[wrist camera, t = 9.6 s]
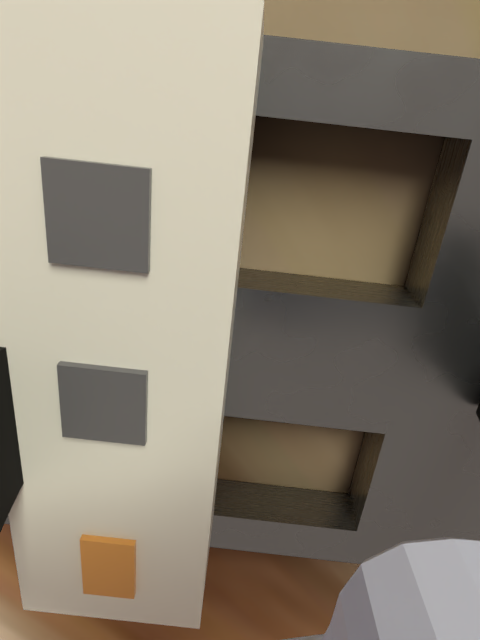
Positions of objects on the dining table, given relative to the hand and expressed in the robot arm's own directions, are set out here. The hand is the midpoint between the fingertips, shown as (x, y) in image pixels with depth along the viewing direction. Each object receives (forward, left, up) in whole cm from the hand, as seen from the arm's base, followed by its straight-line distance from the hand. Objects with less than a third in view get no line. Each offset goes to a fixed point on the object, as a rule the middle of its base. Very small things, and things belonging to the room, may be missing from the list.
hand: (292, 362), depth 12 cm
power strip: (-4, +1, -2) cm, 4 cm away
